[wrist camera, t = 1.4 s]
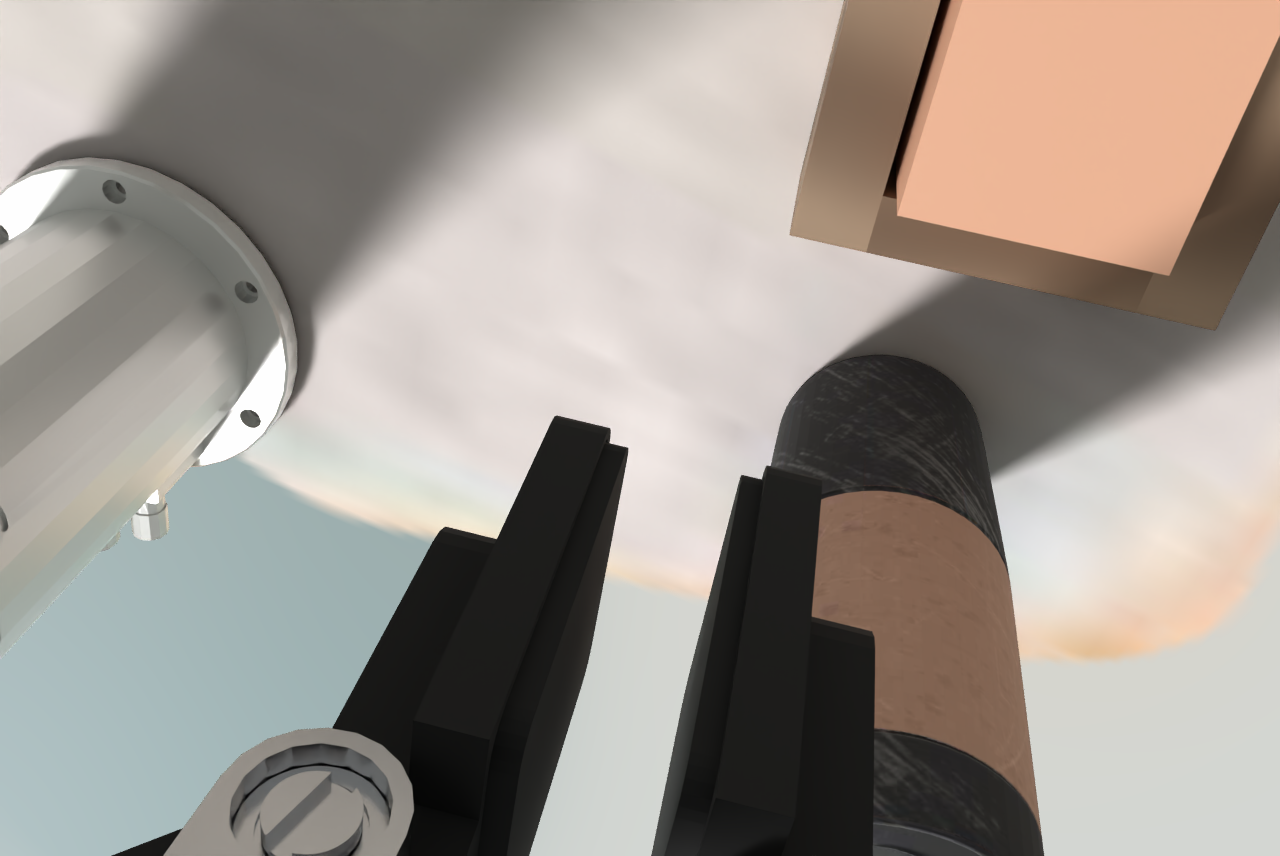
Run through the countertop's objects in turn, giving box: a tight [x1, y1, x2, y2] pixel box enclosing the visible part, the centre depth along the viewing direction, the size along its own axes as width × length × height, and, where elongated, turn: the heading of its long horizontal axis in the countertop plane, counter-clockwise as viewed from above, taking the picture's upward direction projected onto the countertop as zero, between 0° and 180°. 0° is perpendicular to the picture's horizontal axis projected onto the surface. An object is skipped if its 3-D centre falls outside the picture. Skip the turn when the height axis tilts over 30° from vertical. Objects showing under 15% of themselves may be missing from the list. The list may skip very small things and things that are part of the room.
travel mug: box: [771, 355, 1044, 856], centre depth 33 cm, size 8×8×20 cm
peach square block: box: [896, 0, 1280, 276], centre depth 30 cm, size 7×7×5 cm
